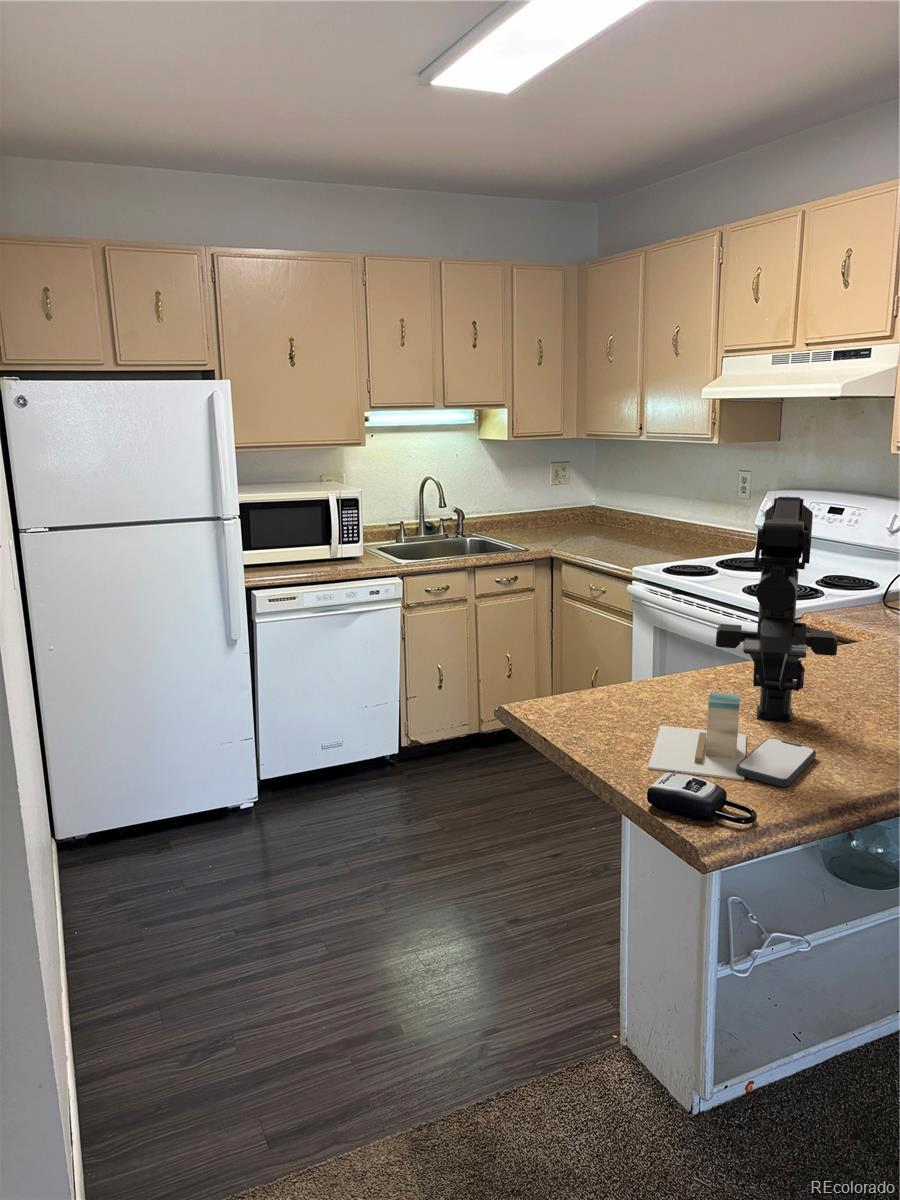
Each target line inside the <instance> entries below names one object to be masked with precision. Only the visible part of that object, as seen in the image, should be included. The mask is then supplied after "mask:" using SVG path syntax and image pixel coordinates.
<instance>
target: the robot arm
mask: <svg viewBox="0 0 900 1200" xmlns="http://www.w3.org/2000/svg"><path fill="white" fill-rule="evenodd" d="M804 500H805V499H804V498H801V497H799V496H778V497H775V498H774V500H773V505H771V506H770V507H769V508H767V510H765V512H764V513H765V514H764V521H763V523H762V527H761V528H758V529H757V534H756V535H757V536H756V544H755V553H754V560H753V561H754V562H753V567H754V568H762V569H761V571H760V572H761V573H760V574H761V575H760V580H759V582H758V585H757V587H756V594H755V596H756V599H757V602H758V603H759V605H758V617H757V618H758V621H757V631H749V630H748V631H747V630H745V631H744V630H742V628H743V626H742V625H741V624H727V623H721V624H720V625H718V627H717V630H716V636H715V647H717V648H724V649H725V648H726V649H736V648H738V647H739V646H740V645H741V643H742V645H743V651H742V652H743V654H746V655H749V656H750V658H751V660H752V662H753V665H754V666H753V683H752V684H753V685H752V687H760V692H759V693H760V696H759V705H757V706H756V719H758V720H759V719H760V720H769V721H770V720H771V721H778V722H780V721H781V722H790V723H791V722H793V721H794V720H793V718H794V717H793V709H792V708H791V707H792V706H791V705H792V697H793V696H792V693H793V691H796V692H799V691H800V690H802V689H804V684H805V683H804V682H805V670H806V668H805V667H804V665H803V663H802V660H801V659H805V658H807V650H808V648H810V650H811V651H812V652H813V653H814V654H815V655H818V656H831V657H832V656H833V657H834V656H837V652H838V639H837V636H836V634H835V633H834V632H833V630H822V629H821V630H820V629H810V630H809V635H807V623H806V622H805V623H804V622H796V611H797V610H796V609H797V599H798V598H797V597H798V583H799V574H800V573H799V572H800V571H798V570H805V569H806V565H807V564H810V559H811V549H812V547H811V546H812V545H811V544H812V529H813V517H814V514H813V511H812V510H811V509H810V508H808V507H807V506H806V505H805V504H804ZM760 556H761V557H760ZM800 559H801V562H800Z"/></svg>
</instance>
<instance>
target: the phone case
mask: <svg viewBox="0 0 900 1200" xmlns="http://www.w3.org/2000/svg"><path fill="white" fill-rule="evenodd" d="M816 757H817V751H816V750H815V749H814V748H813V747H809V746H805V745H802V744H797V743H794V742H790V741H787V740H782V739H778V738H774V737H773V738H772V737H770V738H769V737H767V738H766V739H765V740H764V741H763V742H761V743H760V744H759V745H757V746H756V748H754V749H753V750H752V751H751V752H750V753H748V755H746V756H745V758H744V759H743V760H742V761H741V762H740V763H739V764H738V765H737V766H736V772H737V774H739V775H741V776H744V778H745V777H746V778H748V779H752V780H756V781H758V782H763V783H766V784H769V785H772V786H777V787H781V788H787V787H789V786H790V785H791V784H792V783H793V782H794V781H795V779H797V778H798V777H799V775H801V774H802V772H804V770H805V769H806V768H807V767H808V766H809V765H810V764H811V762H813V761H814V759H816Z"/></svg>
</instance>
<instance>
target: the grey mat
mask: <svg viewBox="0 0 900 1200" xmlns="http://www.w3.org/2000/svg"><path fill="white" fill-rule="evenodd" d="M706 741H707V729H706V730H705V729H697V728H688V727H680V726H678V727H677V726H670V725H660V726H659V729H658V733H657V735H656V739H655V742H654V745H653V749H652V752H651V755H650V758H649V762H648V765H647V769H648V770H654V771H663V772H669V771H675V772H674V773H677V772H681V773H680V774H686V775H697V776H703V777H712V778H718V779H719V778H721V779H727V780H728V779H729V780H735V781H743V782H744V781H745V776H741V775H739V774H737V772H736V766H737V765H738V764H739V763H740V762H741V761H742V760H743V759H744V758H745V757H746V752H747V751H746V750H747V749H746V748H747V734H746V733H738V737H737V752H736V760H735V759H726V758H718V757H709V756H706Z"/></svg>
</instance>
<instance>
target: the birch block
mask: <svg viewBox="0 0 900 1200" xmlns="http://www.w3.org/2000/svg"><path fill="white" fill-rule="evenodd" d="M740 697H741V695H740V694H731V693H730V694H729V693H720V692H710V693H709V697H708V706H707V707H708V708H707V723H706V724H707V725H706V730H707V741H706V756H709V757H718V758H726V759H735V760H736V752H737V737H738V734H739V733H738V731H739V720H740V719H739V717H740V716H739V715H740V704H741V703H740V700H741V698H740Z"/></svg>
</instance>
